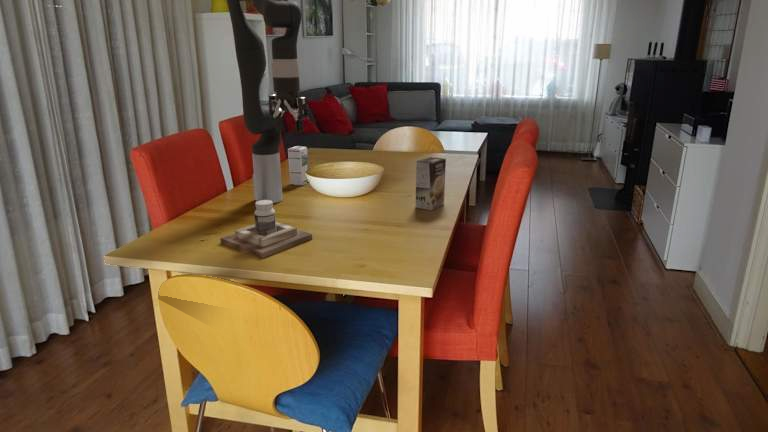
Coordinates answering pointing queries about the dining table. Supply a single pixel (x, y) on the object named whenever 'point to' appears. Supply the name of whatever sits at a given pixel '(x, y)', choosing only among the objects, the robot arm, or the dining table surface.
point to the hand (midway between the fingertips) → (289, 131)
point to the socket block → (266, 240)
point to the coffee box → (430, 183)
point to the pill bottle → (265, 218)
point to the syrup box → (298, 165)
